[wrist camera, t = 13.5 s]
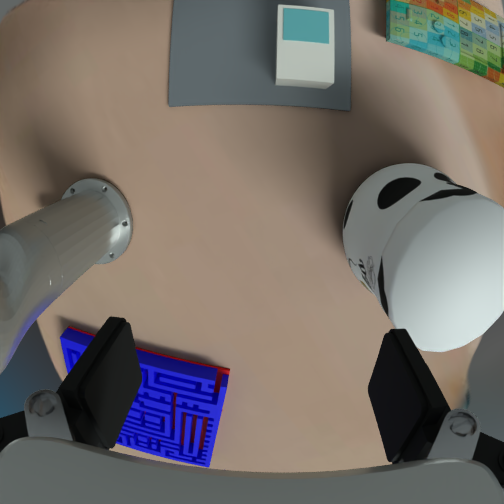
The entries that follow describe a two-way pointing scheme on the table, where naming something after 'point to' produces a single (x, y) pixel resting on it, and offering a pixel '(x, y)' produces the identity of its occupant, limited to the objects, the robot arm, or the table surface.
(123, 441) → the maze
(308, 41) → the card box
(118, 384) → the robot arm
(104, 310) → the table surface
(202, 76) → the mat
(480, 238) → the milk container
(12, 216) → the table surface
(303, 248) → the table surface
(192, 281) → the table surface
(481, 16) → the puzzle game
